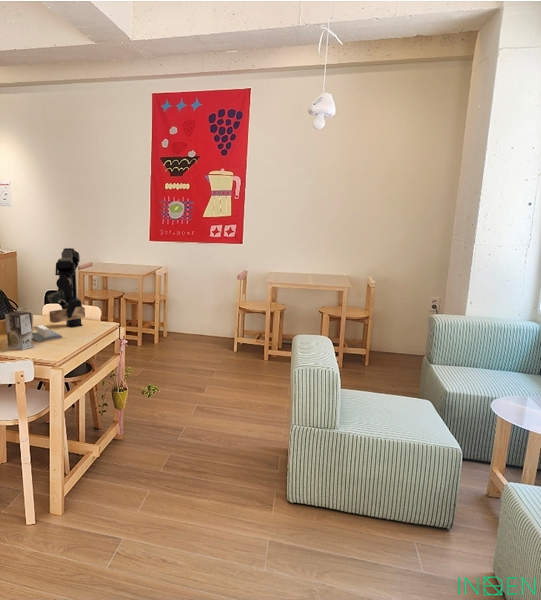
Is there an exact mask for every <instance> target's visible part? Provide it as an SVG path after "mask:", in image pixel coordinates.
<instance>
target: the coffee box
mask: <svg viewBox="0 0 541 600" xmlns="http://www.w3.org/2000/svg"><path fill="white" fill-rule="evenodd" d="M4 315H5V326H6V327H5V328H6V336H7V347H9V348H10V349H15V350H21V351H24V350H26V349H29V348H34V345H35V344H34V340H33V333H34V331H33V325H32V317H31V313H28V312H20V311H17V310H15V311H11V312H8V313H5V314H4Z"/></svg>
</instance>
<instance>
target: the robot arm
mask: <svg viewBox="0 0 541 600" xmlns="http://www.w3.org/2000/svg"><path fill="white" fill-rule="evenodd" d="M80 257H81V255H80V252H78V251H76V250H75V248H73V247H72V248H71V247H70V248H69V247H64V248H63V249H62V252H61V257H60V258H59V259H57V261H56V263H55V272H54V273H55V276H58V279H56V287H57V290H56V291H55V292H53V293H50V294H48V295H46V297H47V299H48V301H49V303H51V304H55V303H56V304H58V305H59V306H60V307H61V310H62V309H67V314H68V318H71V317H72V314H73V312H74V310H75V308H76V307H84V306H83V305H82V300H80V298H79V297H78V295H77V293H78V289H77V268H78V267H79V265H80V264H79V263H80V262H81V259H80ZM65 323H66V326H67V327H70V328H75V327H76V328H77V327H81V326H83V325H84V324H82V318H79V319H73V320H68V321H65Z"/></svg>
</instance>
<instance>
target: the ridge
mask: <svg viewBox="0 0 541 600" xmlns="http://www.w3.org/2000/svg"><path fill="white" fill-rule="evenodd" d="M62 337H63V335H61V334H60V333H57V332H56V331H54V330H52V329H50V328H48V327H47V326H45V325H43V324H42V325H36V331H35V332H33V342H38V343H39V342H42V341H49V340H55V339H59V338H60V339H61V338H62Z"/></svg>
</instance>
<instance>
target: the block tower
mask: <svg viewBox="0 0 541 600" xmlns="http://www.w3.org/2000/svg"><path fill="white" fill-rule="evenodd" d="M16 311H20V312H28V313H31V317H32V326H33V325H34V307H33V306H26V307H17V309H16Z"/></svg>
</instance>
